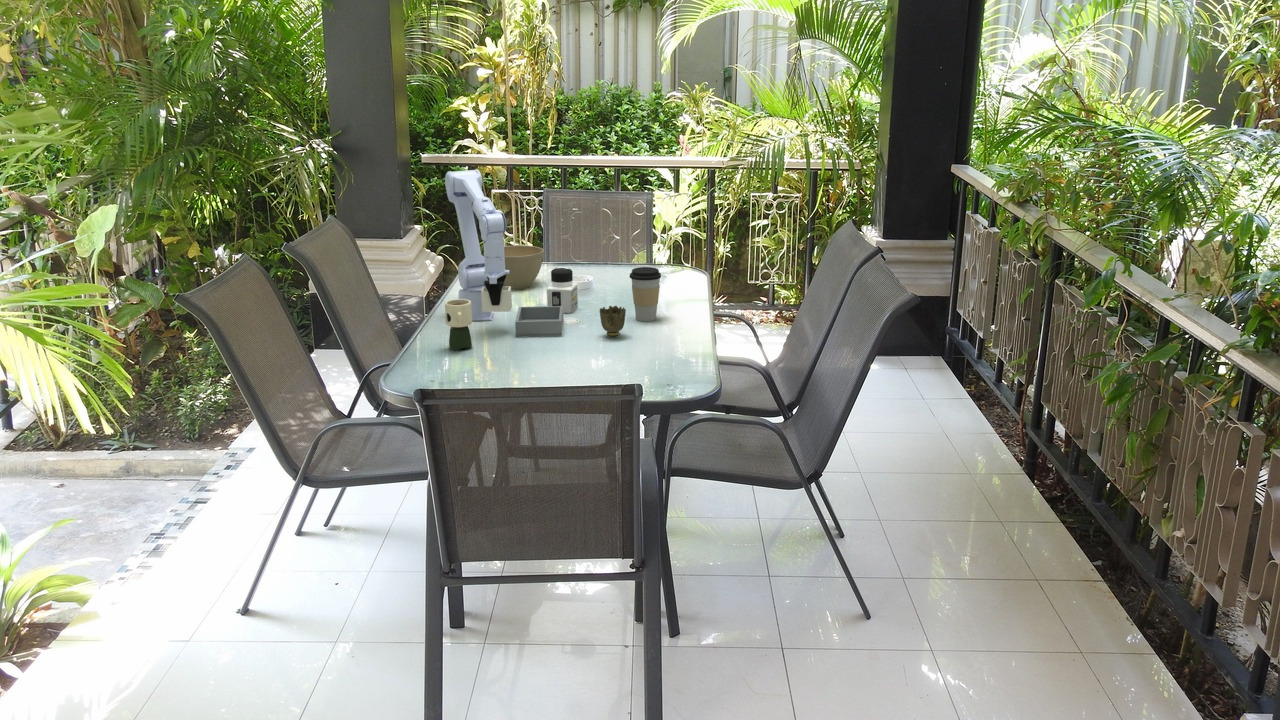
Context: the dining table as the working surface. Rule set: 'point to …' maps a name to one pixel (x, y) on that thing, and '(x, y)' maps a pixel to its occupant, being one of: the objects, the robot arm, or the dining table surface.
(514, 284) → the flower pot
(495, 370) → the dining table surface
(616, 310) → the cup
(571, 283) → the container
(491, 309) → the cream crate
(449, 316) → the character mug
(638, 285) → the coffee cup
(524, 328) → the grey crate
